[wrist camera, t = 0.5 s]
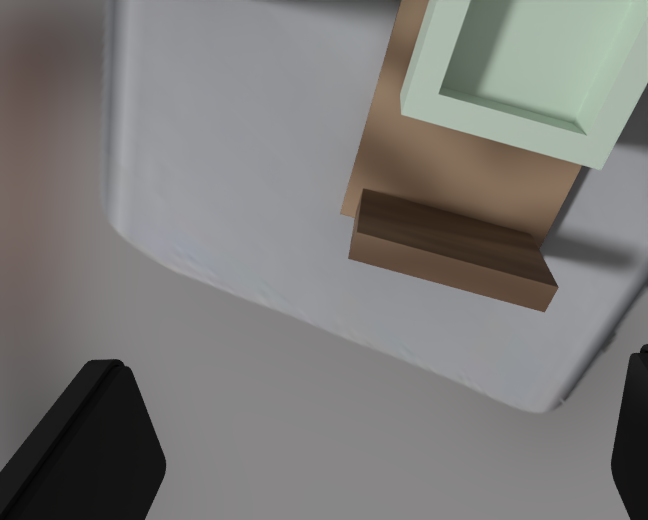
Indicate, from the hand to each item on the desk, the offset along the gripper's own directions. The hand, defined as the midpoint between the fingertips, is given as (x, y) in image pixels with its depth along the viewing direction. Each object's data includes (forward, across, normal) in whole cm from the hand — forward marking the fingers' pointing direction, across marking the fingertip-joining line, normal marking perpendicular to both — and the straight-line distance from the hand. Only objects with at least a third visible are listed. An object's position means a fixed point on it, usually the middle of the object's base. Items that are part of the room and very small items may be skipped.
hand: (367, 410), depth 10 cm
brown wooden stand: (+28, -6, 0) cm, 28 cm away
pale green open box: (+26, -8, -3) cm, 28 cm away
